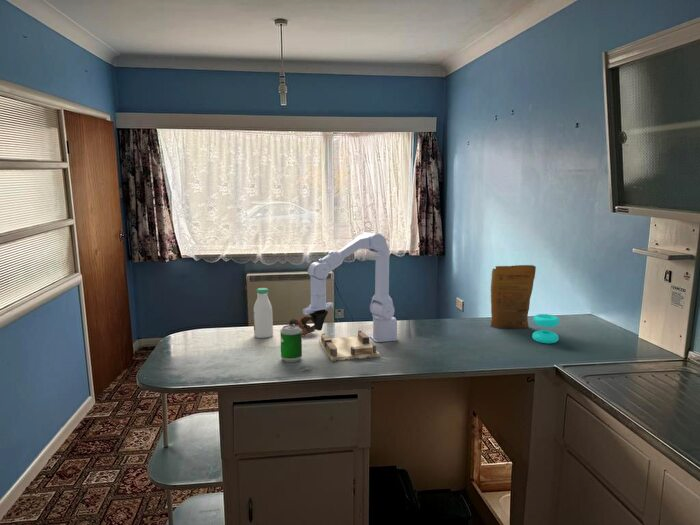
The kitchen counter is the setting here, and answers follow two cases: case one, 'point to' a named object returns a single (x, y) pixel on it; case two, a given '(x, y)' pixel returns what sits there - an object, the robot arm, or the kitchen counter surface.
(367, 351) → the stool seat
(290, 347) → the soda can
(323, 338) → the folding leg
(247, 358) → the kitchen counter surface
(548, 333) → the donuts
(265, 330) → the milk bottle
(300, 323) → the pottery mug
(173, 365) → the kitchen counter surface
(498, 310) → the pancake mix bag
